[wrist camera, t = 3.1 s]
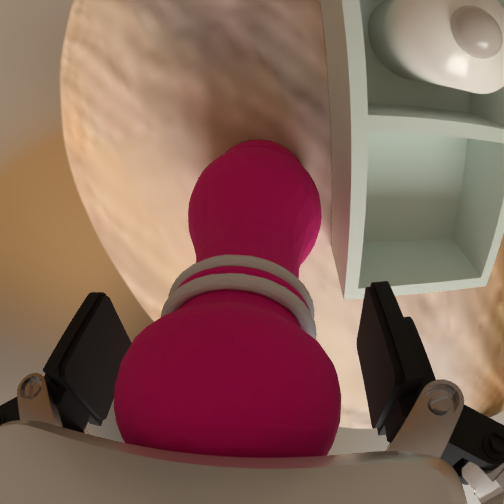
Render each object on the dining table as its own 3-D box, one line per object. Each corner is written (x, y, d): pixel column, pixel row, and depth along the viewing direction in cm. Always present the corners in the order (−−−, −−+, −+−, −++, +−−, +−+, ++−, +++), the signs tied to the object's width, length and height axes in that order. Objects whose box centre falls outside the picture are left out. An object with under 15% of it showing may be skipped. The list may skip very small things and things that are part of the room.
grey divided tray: (313, -39, 12) (327, -76, 7) (462, -14, 11) (512, -26, 6) (330, 245, 23) (343, 299, 18) (452, 240, 22) (485, 285, 17)
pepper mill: (334, 174, 20) (445, 529, 3) (271, 247, 24) (250, 554, 7) (244, 110, 18) (33, 497, 1) (188, 195, 22) (41, 496, 5)
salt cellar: (363, -8, 12) (421, -50, 5) (444, 6, 12) (529, -8, 5) (371, 76, 15) (437, 88, 8) (449, 85, 15) (537, 110, 8)
